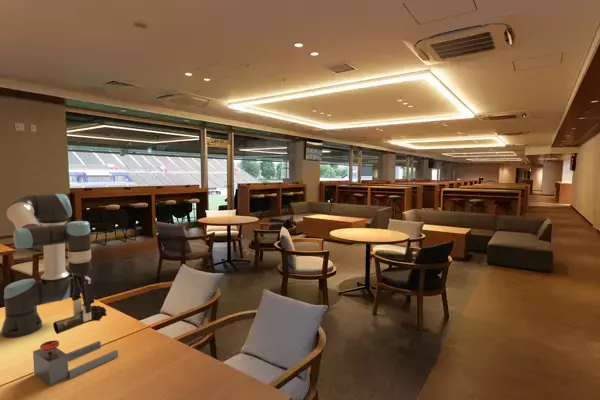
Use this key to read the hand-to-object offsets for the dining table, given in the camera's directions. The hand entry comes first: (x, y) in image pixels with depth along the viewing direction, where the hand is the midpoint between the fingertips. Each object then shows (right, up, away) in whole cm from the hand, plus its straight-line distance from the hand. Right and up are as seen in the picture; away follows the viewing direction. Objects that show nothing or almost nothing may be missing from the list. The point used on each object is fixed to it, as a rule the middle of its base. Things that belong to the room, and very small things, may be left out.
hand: (82, 318), depth 135 cm
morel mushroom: (-1, -2, 0) cm, 3 cm away
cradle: (-2, -18, 0) cm, 18 cm away
